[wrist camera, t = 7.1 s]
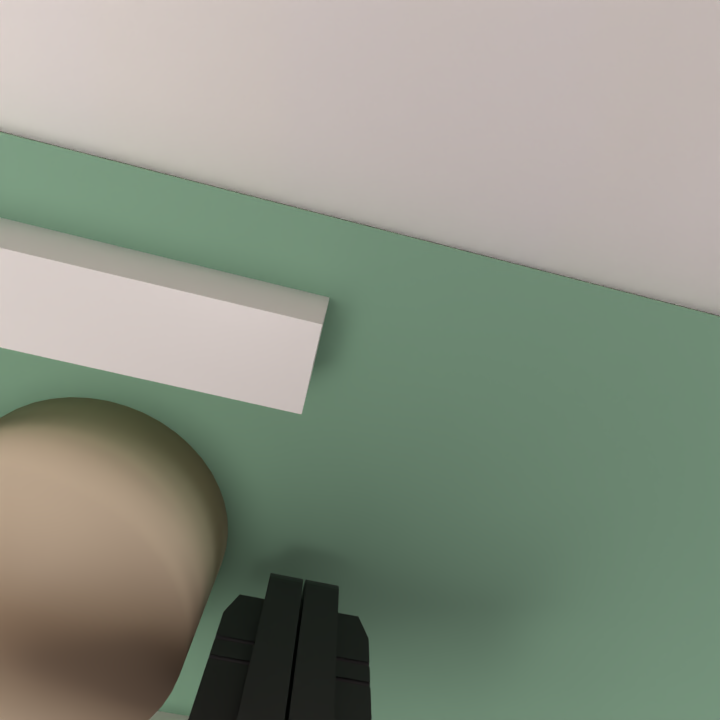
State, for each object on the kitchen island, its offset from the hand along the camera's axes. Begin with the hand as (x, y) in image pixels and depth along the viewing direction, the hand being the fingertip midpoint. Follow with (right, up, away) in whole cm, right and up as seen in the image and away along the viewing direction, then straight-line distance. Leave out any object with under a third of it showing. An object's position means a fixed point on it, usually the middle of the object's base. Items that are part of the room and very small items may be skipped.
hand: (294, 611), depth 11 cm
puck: (-5, +2, +1) cm, 5 cm away
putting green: (+3, 0, +2) cm, 3 cm away
